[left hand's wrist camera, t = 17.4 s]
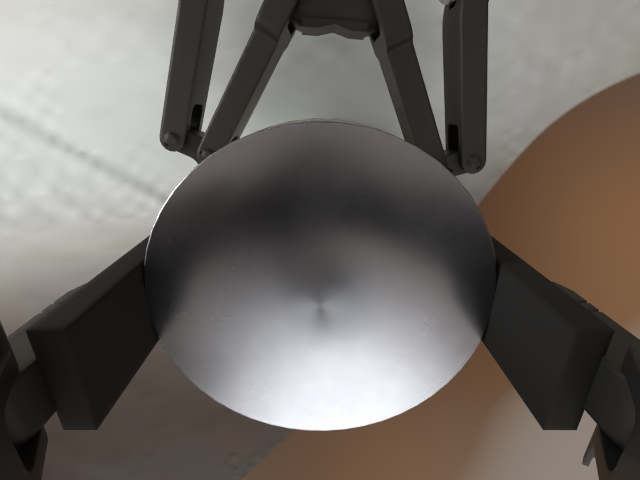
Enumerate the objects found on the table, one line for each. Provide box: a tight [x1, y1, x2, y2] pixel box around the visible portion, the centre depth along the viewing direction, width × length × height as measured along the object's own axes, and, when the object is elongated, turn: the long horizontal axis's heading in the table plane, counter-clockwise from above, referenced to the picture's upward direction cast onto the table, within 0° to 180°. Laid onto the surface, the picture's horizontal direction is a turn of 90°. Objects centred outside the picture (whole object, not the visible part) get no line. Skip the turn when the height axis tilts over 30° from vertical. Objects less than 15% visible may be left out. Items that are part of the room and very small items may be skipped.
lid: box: [144, 119, 497, 431], centre depth 11 cm, size 10×10×2 cm
